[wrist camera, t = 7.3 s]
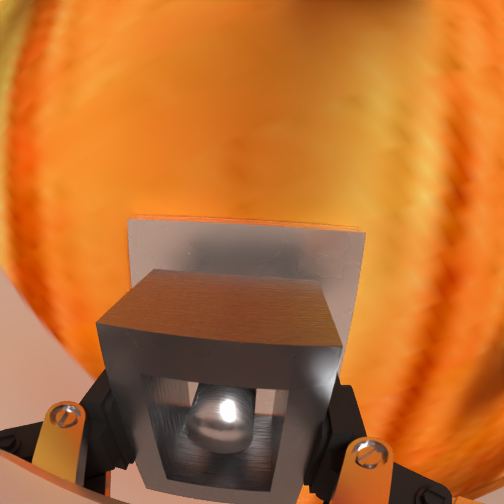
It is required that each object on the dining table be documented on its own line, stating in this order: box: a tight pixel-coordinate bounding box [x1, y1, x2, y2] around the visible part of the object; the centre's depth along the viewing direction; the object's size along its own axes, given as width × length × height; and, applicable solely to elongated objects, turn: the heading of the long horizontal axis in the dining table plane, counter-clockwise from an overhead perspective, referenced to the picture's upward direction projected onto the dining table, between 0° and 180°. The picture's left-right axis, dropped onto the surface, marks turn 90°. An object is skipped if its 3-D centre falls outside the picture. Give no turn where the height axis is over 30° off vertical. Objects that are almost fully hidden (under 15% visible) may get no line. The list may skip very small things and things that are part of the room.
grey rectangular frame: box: [96, 269, 343, 504], centre depth 9 cm, size 8×6×4 cm
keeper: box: [128, 215, 366, 454], centre depth 11 cm, size 10×10×7 cm
